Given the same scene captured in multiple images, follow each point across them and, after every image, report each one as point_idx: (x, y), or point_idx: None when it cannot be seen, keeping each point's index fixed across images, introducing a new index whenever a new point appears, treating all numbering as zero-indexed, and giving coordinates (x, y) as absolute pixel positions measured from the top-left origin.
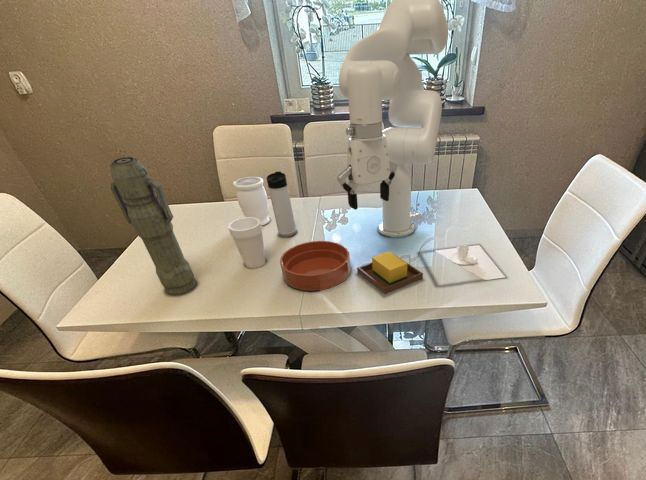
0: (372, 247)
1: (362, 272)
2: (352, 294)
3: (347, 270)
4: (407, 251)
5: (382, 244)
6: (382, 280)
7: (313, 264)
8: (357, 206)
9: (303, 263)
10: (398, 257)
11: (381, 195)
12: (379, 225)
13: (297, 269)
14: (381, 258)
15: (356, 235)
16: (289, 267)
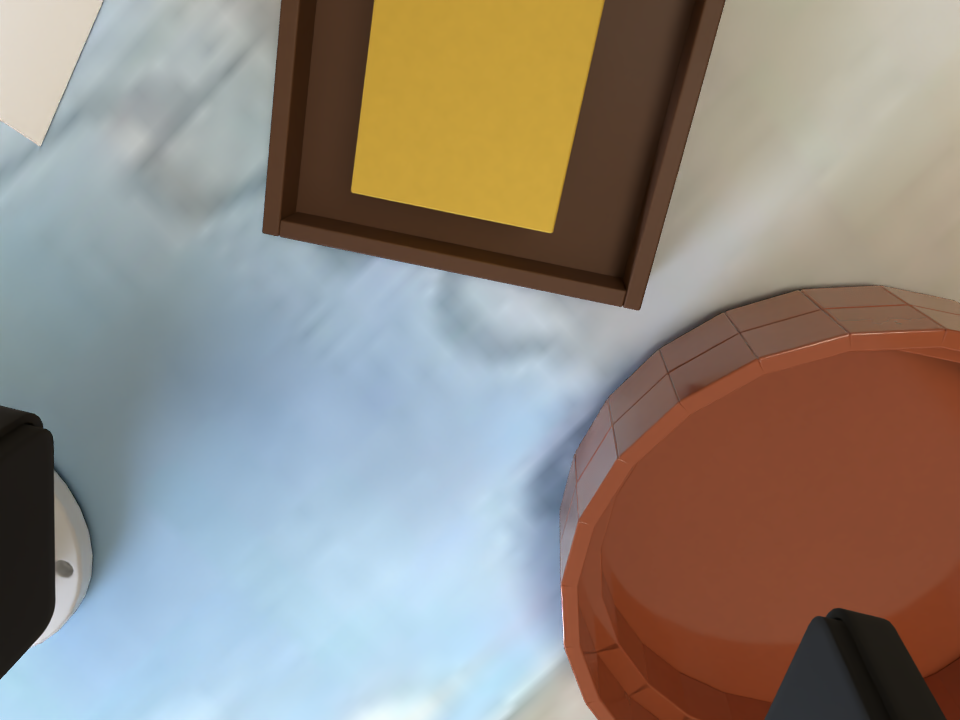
0: (270, 483)
1: (662, 226)
2: (894, 103)
3: (747, 326)
4: (102, 236)
5: (184, 458)
6: None
7: (756, 619)
8: (842, 645)
9: None
10: (272, 153)
11: (7, 629)
12: (38, 640)
13: None
14: (504, 143)
15: (243, 675)
16: None
